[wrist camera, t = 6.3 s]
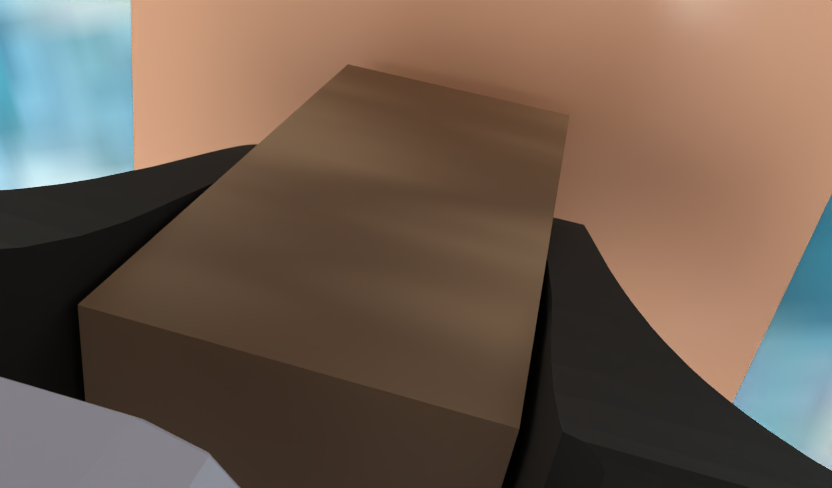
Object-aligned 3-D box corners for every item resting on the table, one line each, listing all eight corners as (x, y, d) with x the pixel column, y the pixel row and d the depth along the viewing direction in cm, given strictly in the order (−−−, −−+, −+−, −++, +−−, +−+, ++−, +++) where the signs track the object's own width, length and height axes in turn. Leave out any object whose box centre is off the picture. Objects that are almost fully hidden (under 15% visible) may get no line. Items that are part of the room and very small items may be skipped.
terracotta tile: (995, -182, 12) (1010, -182, 11) (687, 478, 18) (689, 493, 18) (140, -328, 13) (123, -334, 13) (148, 327, 20) (138, 338, 20)
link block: (569, 115, 13) (519, 429, 6) (517, 304, 15) (436, 696, 8) (347, 63, 14) (76, 305, 7) (325, 253, 16) (99, 587, 9)
